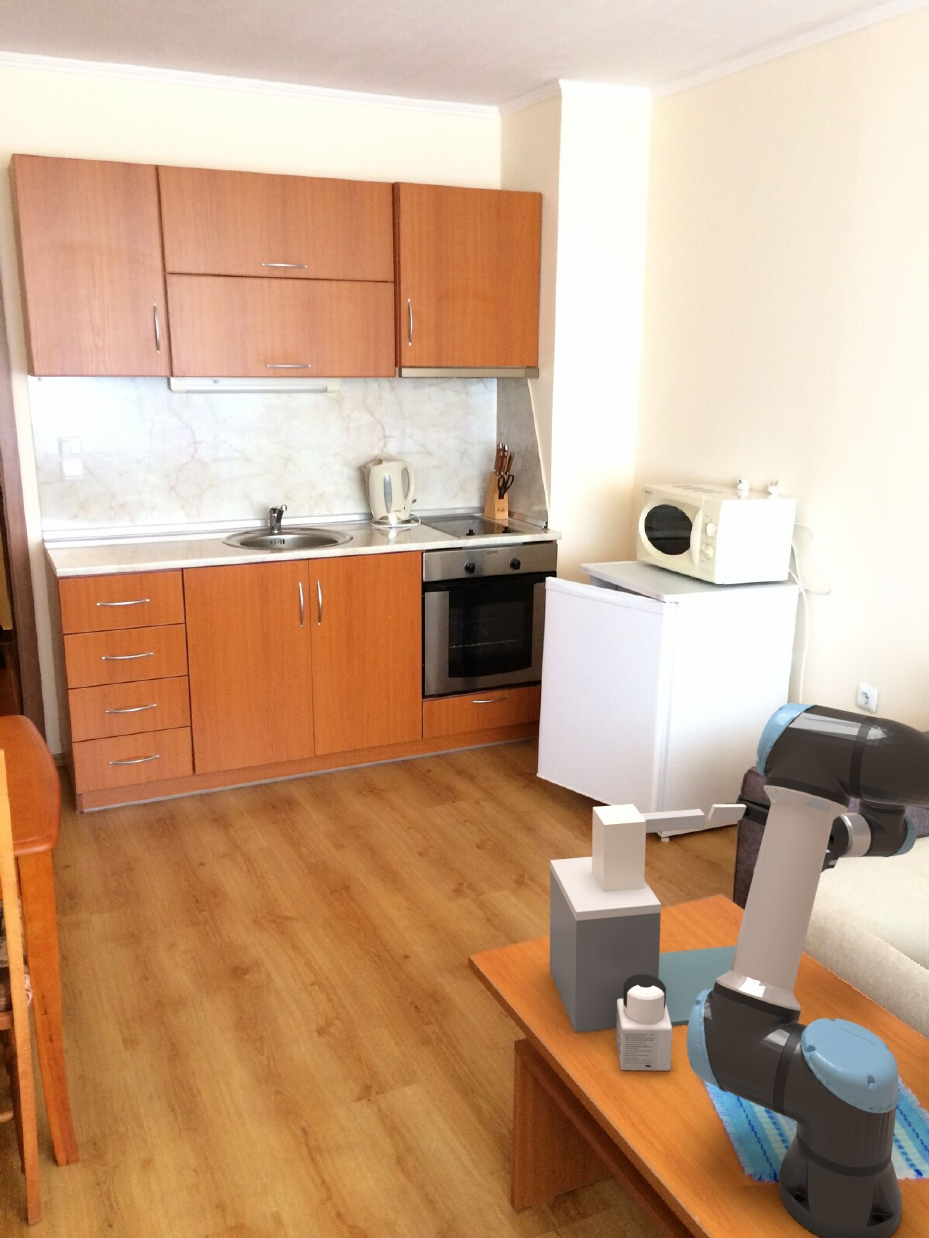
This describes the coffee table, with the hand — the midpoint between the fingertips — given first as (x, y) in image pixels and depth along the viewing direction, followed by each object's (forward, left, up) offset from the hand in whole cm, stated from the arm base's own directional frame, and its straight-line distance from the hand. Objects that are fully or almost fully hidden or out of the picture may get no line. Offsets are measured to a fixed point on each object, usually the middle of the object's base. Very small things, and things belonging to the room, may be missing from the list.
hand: (733, 837), depth 167 cm
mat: (+7, +5, -32) cm, 33 cm away
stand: (-2, +21, -32) cm, 38 cm away
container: (-15, +11, -32) cm, 37 cm away
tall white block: (+2, +14, -10) cm, 17 cm away
